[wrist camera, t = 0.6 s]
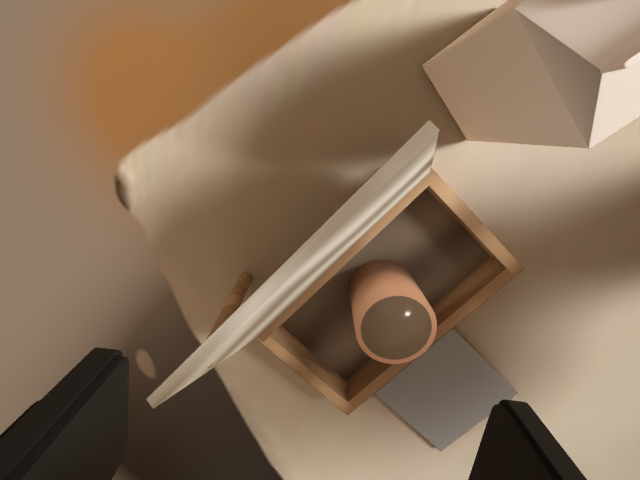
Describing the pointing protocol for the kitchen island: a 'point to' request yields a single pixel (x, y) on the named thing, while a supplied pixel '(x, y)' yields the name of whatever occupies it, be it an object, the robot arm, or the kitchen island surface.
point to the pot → (390, 312)
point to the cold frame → (340, 265)
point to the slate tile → (445, 390)
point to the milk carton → (544, 72)
